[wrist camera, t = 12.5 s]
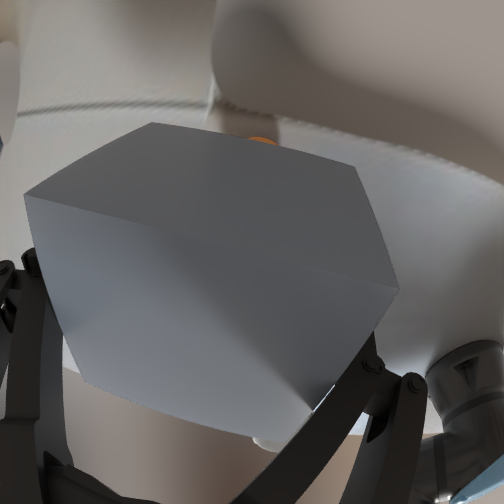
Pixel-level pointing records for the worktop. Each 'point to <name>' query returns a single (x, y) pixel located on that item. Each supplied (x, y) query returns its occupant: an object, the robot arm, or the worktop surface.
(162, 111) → the worktop surface
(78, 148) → the worktop surface
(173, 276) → the matte grey cuboid
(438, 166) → the worktop surface
